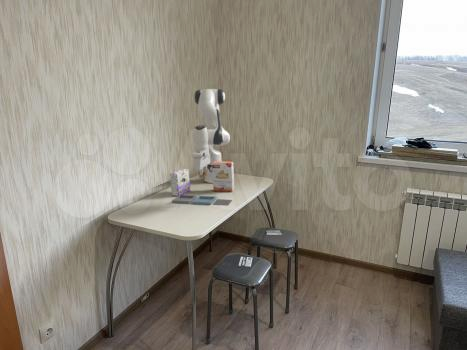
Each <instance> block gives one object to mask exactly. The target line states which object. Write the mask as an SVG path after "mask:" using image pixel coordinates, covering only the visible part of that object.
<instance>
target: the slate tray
mask: <svg viewBox="0 0 467 350" xmlns="http://www.w3.org/2000/svg"><path fill="white" fill-rule="evenodd" d="M216 200H217V196H216V195H215V196H212V195H199V196H197V198H196V199H195V200H194V201H192V205H205V206H211V205H213V203H214V202H215V201H216Z"/></svg>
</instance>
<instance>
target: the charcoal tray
mask: <svg viewBox="0 0 467 350" xmlns="http://www.w3.org/2000/svg"><path fill="white" fill-rule="evenodd" d="M197 197H198V196H197V195H193V194H191V195H190V194H183V195H179V196H175V198H173V199H172V204H187V205H190V204H191V203H193V201H194V200H195V199H196V198H197Z"/></svg>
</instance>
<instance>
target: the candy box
mask: <svg viewBox="0 0 467 350" xmlns="http://www.w3.org/2000/svg"><path fill="white" fill-rule="evenodd" d="M169 174H170V185H171V196H172V195H174V196H173V197H177V196H179V195H186V193H188V192H191V181H190V170H189V169H188V168H181V169H178V170H176V171H173V172H170V173H169Z"/></svg>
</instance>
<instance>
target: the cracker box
mask: <svg viewBox="0 0 467 350" xmlns="http://www.w3.org/2000/svg"><path fill="white" fill-rule="evenodd" d="M212 167H213V183H212V186H213V192H227V193H233V192H234V191H235V173H234V171H235V169H234V161H225V160H224V161H223V160H222V161H214V162H213V163H212Z"/></svg>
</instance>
